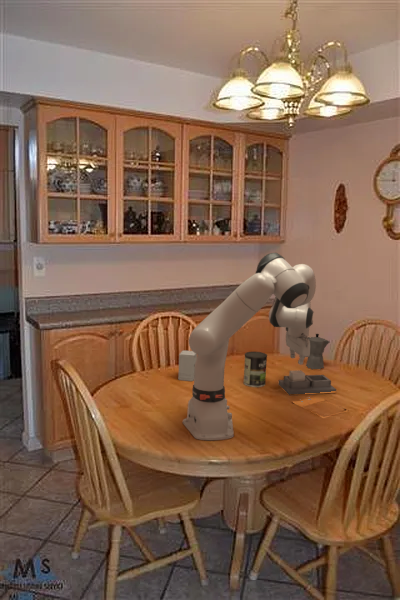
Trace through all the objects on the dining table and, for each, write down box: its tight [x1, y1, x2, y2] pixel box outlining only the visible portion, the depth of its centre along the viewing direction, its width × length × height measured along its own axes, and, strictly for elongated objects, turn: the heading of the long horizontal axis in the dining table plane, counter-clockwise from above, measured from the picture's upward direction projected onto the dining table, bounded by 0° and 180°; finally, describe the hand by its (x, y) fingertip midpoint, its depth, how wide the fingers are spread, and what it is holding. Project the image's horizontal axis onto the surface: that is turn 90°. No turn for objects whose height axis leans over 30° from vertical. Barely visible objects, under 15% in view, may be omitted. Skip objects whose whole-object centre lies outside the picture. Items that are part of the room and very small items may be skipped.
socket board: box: [277, 374, 337, 396], centre depth 226 cm, size 14×22×5 cm, turn 100°
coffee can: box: [243, 351, 268, 388], centre depth 230 cm, size 10×10×14 cm
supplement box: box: [177, 350, 198, 382], centre depth 234 cm, size 7×7×13 cm
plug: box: [288, 369, 306, 381], centre depth 225 cm, size 5×6×6 cm
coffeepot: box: [305, 333, 331, 370], centre depth 258 cm, size 15×9×18 cm, turn 67°
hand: (296, 360), depth 224 cm, fingers open, 8 cm apart
